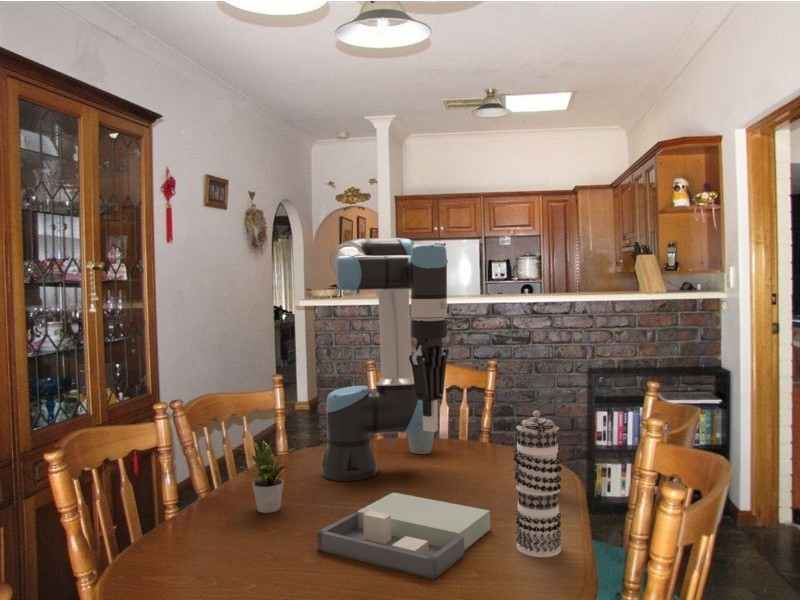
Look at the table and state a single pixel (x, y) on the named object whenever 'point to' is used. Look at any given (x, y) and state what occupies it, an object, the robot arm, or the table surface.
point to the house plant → (267, 480)
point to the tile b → (412, 545)
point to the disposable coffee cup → (420, 440)
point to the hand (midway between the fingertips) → (430, 430)
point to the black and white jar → (538, 488)
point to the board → (430, 519)
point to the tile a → (377, 527)
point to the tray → (387, 550)
